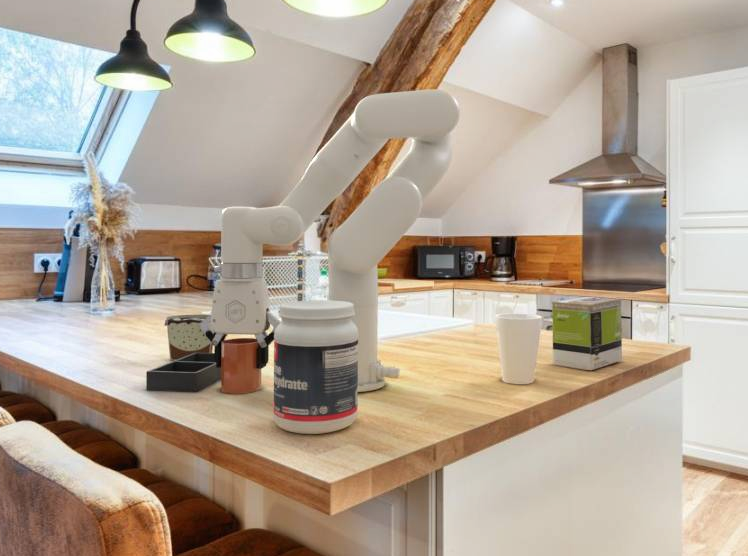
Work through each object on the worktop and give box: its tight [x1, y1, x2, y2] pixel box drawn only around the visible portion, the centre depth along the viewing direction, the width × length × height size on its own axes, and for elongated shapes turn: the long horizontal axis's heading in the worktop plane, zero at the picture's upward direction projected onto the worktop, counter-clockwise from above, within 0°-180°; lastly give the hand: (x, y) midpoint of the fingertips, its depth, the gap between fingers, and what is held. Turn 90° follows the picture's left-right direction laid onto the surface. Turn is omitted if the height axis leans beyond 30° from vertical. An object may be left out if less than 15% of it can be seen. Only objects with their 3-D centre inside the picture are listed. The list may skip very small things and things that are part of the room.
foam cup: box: [494, 312, 543, 385], centre depth 124 cm, size 10×9×13 cm
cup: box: [220, 337, 262, 395], centre depth 116 cm, size 7×7×9 cm
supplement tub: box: [272, 299, 359, 435], centre depth 94 cm, size 13×13×18 cm
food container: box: [164, 314, 214, 362], centre depth 144 cm, size 12×6×10 cm, turn 84°
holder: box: [145, 352, 221, 393], centre depth 123 cm, size 19×10×4 cm, turn 173°
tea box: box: [551, 296, 623, 371], centre depth 142 cm, size 15×10×15 cm, turn 136°
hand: (241, 366), depth 116 cm, fingers closed on cup, 7 cm apart
